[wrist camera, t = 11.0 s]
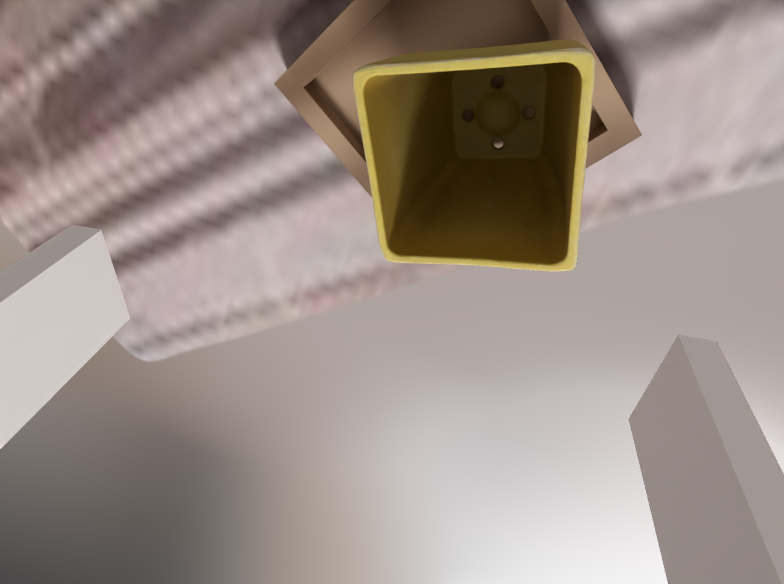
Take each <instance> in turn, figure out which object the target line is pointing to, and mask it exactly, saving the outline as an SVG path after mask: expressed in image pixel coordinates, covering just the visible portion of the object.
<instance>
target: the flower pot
mask: <svg viewBox="0 0 784 584" xmlns="http://www.w3.org/2000/svg"><path fill="white" fill-rule="evenodd" d="M595 70H596V60H595V56H594V54H593V52H591V51H590V50H589V49H588V48H586V47H585V46H584V45H583V44H581V43H579V42H578V41H576V40H570V39H564V40H554V41H545V42H536V43H527V44H517V45H506V46H496V47H483V48H471V49H458V50H445V51H431V52H415V53H408V54H403V55H399V56H395V57H391V58H388V59H384V60H380V61H376V62H373V63H369V64H366V65H363V66H360V67H359V68H357V69H356V70H355V71H354V72H353V89H354V95H355V102H356V107H357V114H358V119H359V124H360V129H361V134H362V141H363V147H364V152H365V158H366V163H367V169H368V175H369V181H370V187H371V193H372V199H373V206H374V214H375V219H376V226H377V232H378V239H379V244H380V248H381V251H382V253H383V255H384V257H385V259H386V260H388V261H392V262H403V263H432V264H459V265H478V266H491V267H502V268H514V269H528V270H540V271H566V270H572V269H574V268H575V266H576V264H577V257H578V242H579V231H580V220H581V208H582V197H583V187H584V178H585V168H586V158H587V148H588V137H589V128H590V118H591V110H592V99H593V90H594V82H595ZM497 76H500V77H502V78H503V85H502V86H501V87H499V88H497V87H495V86H494V85H493V79H494V78H495V77H497ZM527 107H532V108H533V109H534V115H533V116H532V117H531V118H527V117H525V116H524V114H523V112H524V109H525V108H527ZM466 110H471V111H472V112H473V114H474V116H473V118H472V119H471V120H466V119H465V118H464V112H465V111H466ZM497 138H500V139H502V140H503V146H502V147H500V148H496V147H495V146H494V145H493V142H494V140H495V139H497Z"/></svg>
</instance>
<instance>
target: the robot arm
mask: <svg viewBox="0 0 784 584" xmlns="http://www.w3.org/2000/svg"><path fill="white" fill-rule="evenodd" d="M129 319H130V316H129V313H128V310H127V307H126V304H125V301H124V298H123V295H122V292H121V289H120V286H119V283H118V280H117V276H116V273H115V270H114V267H113V264H112V261H111V258H110V255H109V252H108V249H107V246H106V243H105V240H104V237H103V234H102V231H101V230H99V229H93V228H88V227H82V226H77V225H71V226H69V227H68V228H66V229H65V230H63V231H62V232H60V233H59V234H57V235H56V236H54V237H53V238H51V239H49V240H48V241H46V242H45V243H43V244H42V245H40V246H39V247H37V248H36V249H34V250H33V251H31V252H30V253H28V254H27V255H25V256H24V257H22V258H21V259H19V260H18V261H16V262H15V263H13V264H12V265H10V266H9V267H7V268H6V269H4V270H3V271H1V272H0V449H1V448H2V447H3V446H4V445H5V444H6V443H7V442H8V441H9V439H11V438H12V437H13V436H14V435H15V434H16V432H18V431H19V429H21V428H22V427H23V426H24V425H25V424H26V423H27V422H28V421H29V420H30V418H32V417H33V416H34V415H35V414H36V413H37V412H38V411H39V410H40V409H41V408H42V407H43V405H45V403H47V402H48V401H49V400H50V398H52V397H53V395H54V394H55V393H56V392H57V391H58V390H59V389H60V388H61V387H62V386H63V385H64V384H65V383H66V382H67V381H68V380H69V379H70V378H71V377H72V376H73V375H74V374H75V373H76V372H77V371H78V370H79V369H80V368H81V367H82V366H83V365H84V364H85V363H86V362H87V361H88V360H89V359H90V358H91V357H92V356H93V355H94V354H95V353H96V352H97V351H98V350H99V349H100V348H101V347H102V346H103V345H104V344H105V343H106V342H107V341H108V340H109V339H110V338H111V337H112V336H113V335H114V334H115V333H116V332H117V331H118V330H119V329H120V328H121V327H122V326H123V325H124V324H125V323H126V322H127V321H128V320H129ZM629 422H630V426H631V431H632V435H633V439H634V443H635V447H636V451H637V456H638V459H639V464H640V468H641V472H642V476H643V481H644V485H645V489H646V493H647V497H648V501H649V506H650V510H651V514H652V518H653V522H654V526H655V531H656V534H657V539H658V543H659V547H660V551H661V555H662V560H663V564H664V568H665V572H666V577H667V581H668V584H784V474H783V472H782V470H781V468H780V466H779V464H778V462H777V460H776V458H775V456H774V454H773V452H772V450H771V448H770V446H769V444H768V442H767V440H766V438H765V436H764V434H763V432H762V430H761V428H760V426H759V424H758V422H757V420H756V418H755V416H754V414H753V412H752V410H751V408H750V406H749V404H748V402H747V400H746V398H745V396H744V394H743V392H742V390H741V388H740V386H739V384H738V382H737V380H736V379H735V376H734V374H733V372H732V370H731V368H730V366H729V364H728V362H727V360H726V359H725V357H724V354H723V352H722V350H721V348H720V346H719V345H718V342H715V341H710V340H705V339H699V338H693V337H688V336H683V335H678V336H677V338H676V340H675V341H674V343H673V345H672V346H671V348H670V350H669V351H668V353H667V355H666V357H665V358H664V360H663V362H662V363H661V365H660V367H659V369H658V370H657V372H656V374H655V375H654V377H653V379H652V380H651V382H650V384H649V385H648V387H647V389H646V390H645V392H644V394H643V396H642V397H641V399H640V401H639V402H638V404H637V406H636V407H635V409H634V411H633V413H632V414H631V416H630V418H629Z"/></svg>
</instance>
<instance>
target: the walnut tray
mask: <svg viewBox="0 0 784 584" xmlns="http://www.w3.org/2000/svg"><path fill="white" fill-rule="evenodd" d="M564 39H570V40H576V41H578V42H579V43H581V44H583V45H584V46H585V47H586V48H588V49H589V50H590V51H591V52H593V54H594V56H595V60H596V70H595V82H594V90H593V99H592V110H591V118H590V128H589V137H588V148H587V158H586V168H587V167H589V166H591V165H592V164H594V163H596V162H598V161H599V160H601V159H603V158H604V157H606V156H608V155H609V154H611V153H613V152H614V151H616V150H618V149H619V148H621V147H623V146H625V145H626V144H628V143H630V142H631V141H633V140H635V139H636V138H638V137H640V136H641V135H642V134H641V132H640V131H639V129H638V127H637V125H636V124H635V122H634V120H633V118H632V116H631V115H630V113H629V111H628V109H627V108H626V106H625V104H624V102H623V101H622V99H621V97H620V95H619V94H618V92H617V90H616V88H615V87H614V85H613V83H612V81H611V80H610V78H609V76H608V74H607V73H606V71H605V69H604V67H603V65H602V64H601V62H600V60H599V58H598V57H597V55H596V53H595V51H594V50H593V48H592V46H591V44H590V43H589V41H588V39H587V37H586V36H585V34H584V32H583V30H582V29H581V27H580V25H579V23H578V22H577V20H576V18H575V16H574V15H573V13H572V11H571V9H570V7H569V6H568V4H567V2H566V0H354V1H353V2H352V3H351V4H350V5H349V6H348V7H347V8H346V9H345V10H344V11H343V12H342V13H341V14H340V15H339V16H338V17H337V18H336V19H335V20H334V21H333V23H332V24H331V25H330V26H329V27H328V28H327V29H326V30H325V31H324V32H323V33H322V34H321V35H320V36H319V37H318V38H317V39H316V40H315V41H314V42H313V43H312V44H311V45H310V47H309V48H308V49H307V50H306V51H305V52H304V53H303V54H302V55H301V56H300V57H299V58H298V59H297V60H296V61H295V62H294V63H293V64H292V65H291V66H290V67H289V68H288V69H287V71H286V72H285V73H284V74H283V75H282V76H281V77H280V78H279V79H278V80H277V81H276V82H275V83H274V84H275V85H276V86H277V87H278V89H279V90H280V91H281V92H282V93H283V94H284V96H285V97H286V98H287V99H288V100H289V101H290V103H291V104H292V105H293V106H294V107H295V108H296V110H297V111H298V112H299V113H300V114H301V115H302V117H303V118H304V119H305V120H306V121H307V122H308V124H309V125H310V126H311V127H312V128H313V129H314V131H315V132H316V133H317V134H318V135H319V136H320V138H321V139H322V140H323V141H324V142H325V143H326V145H327V146H328V147H329V148H330V149H331V150H332V152H333V153H334V154H335V155H336V156H337V157H338V159H339V160H340V161H341V162H342V163H343V164H344V166H345V167H346V168H347V169H348V170H349V171H350V173H351V174H352V175H353V176H354V177H355V178H356V180H357V181H358V182H359V183H360V184H361V185H362V187H363V188H364V189H365V190H366V191H367V192H368V194H369V195H370V196H371V197H372V193H371V187H370V181H369V175H368V169H367V163H366V158H365V152H364V147H363V141H362V134H361V129H360V124H359V119H358V114H357V107H356V102H355V95H354V89H353V72H354V71H355V70H356V69H357V68H359V67H360V66H363V65H366V64H369V63H373V62H376V61H380V60H384V59H388V58H391V57H395V56H399V55H403V54H408V53H415V52H431V51H445V50H458V49H471V48H483V47H496V46H506V45H517V44H527V43H536V42H545V41H554V40H564ZM493 85H494V86H495V87H497V88H499V87H501V86H502V85H503V78H502V77H500V76H497V77H495V78H494V79H493ZM523 114H524V116H525V117H527V118H531V117H532V116H533V115H534V109H533V108H532V107H527V108H525V109H524V112H523ZM473 116H474V114H473V112H472V111H471V110H466V111H465V112H464V118H465V119H466V120H471V119H472V118H473ZM493 145H494V146H495V147H496V148H500V147H502V146H503V140H502V139H500V138H497V139H495V140H494V142H493ZM586 168H585V169H586Z"/></svg>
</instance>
